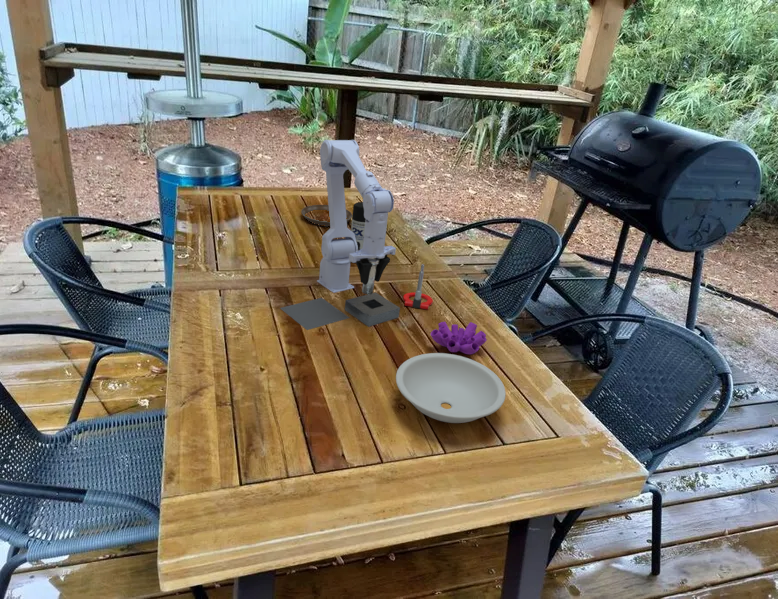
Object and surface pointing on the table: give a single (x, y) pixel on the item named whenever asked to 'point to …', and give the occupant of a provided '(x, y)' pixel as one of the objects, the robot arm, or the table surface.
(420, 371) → the sink basin
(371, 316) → the square hole block
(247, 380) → the table surface
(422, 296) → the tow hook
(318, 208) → the dark grey ring
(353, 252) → the robot arm
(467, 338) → the purple tube coral
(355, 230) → the spray can
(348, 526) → the table surface
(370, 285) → the pin
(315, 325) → the mat
